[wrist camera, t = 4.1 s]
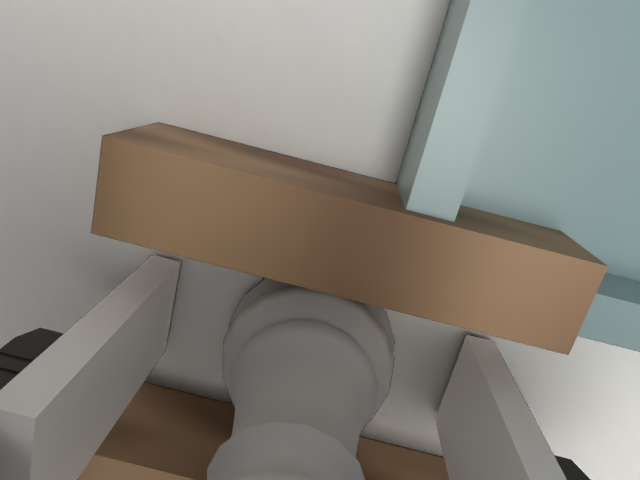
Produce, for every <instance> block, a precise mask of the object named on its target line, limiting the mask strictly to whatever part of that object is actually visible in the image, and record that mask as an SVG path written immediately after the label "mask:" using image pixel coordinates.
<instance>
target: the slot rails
mask: <svg viewBox="0 0 640 480" xmlns="http://www.w3.org/2000/svg"><path fill="white" fill-rule="evenodd" d="M91 233H92V234H96V235H100V236H104V237H108V238H112V239H116V240H120V241H124V242H127V243H131V244H135V245H139V246H143V247H147V248H151V249H155V250H159V251H163V252H167V253H171V254H174V255H178V256H182V257H186V258H190V259H194V260H198V261H202V262H206V263H210V264H214V265H218V266H221V267H225V268H229V269H233V270H237V271H241V272H245V273H249V274H253V275H257V276H261V277H265V278H269V279H272V280H276V281H280V282H284V283H288V284H292V285H296V286H300V287H304V288H308V289H312V290H316V291H319V292H323V293H327V294H331V295H335V296H339V297H343V298H347V299H351V300H355V301H359V302H363V303H366V304H370V305H374V306H378V307H382V308H386V309H390V310H394V311H398V312H402V313H406V314H410V315H413V316H417V317H421V318H425V319H429V320H433V321H437V322H441V323H445V324H449V325H453V326H457V327H460V328H464V329H468V330H472V331H476V332H480V333H484V334H488V335H492V336H496V337H500V338H504V339H507V340H511V341H515V342H519V343H523V344H527V345H531V346H535V347H539V348H543V349H547V350H551V351H554V352H558V353H562V354H566V355H569V352H570V350H571V348H572V346H573V344H574V341H575V339H576V337H577V335H578V333H579V330H580V328H581V326H582V324H583V322H584V319H585V317H586V315H587V313H588V311H589V308H590V306H591V304H592V302H593V299H594V297H595V295H596V293H597V291H598V288H599V286H600V284H601V282H602V280H603V277H604V275H605V273H606V271H607V269H608V266H607V265H606V264H605V263H603V262H602V261H601V260H599V259H598V258H597V257H595V256H594V255H593V254H591V253H590V252H589V251H587V250H586V249H585V248H583V247H582V246H581V245H579V244H578V243H577V242H575V241H574V240H573V239H571V238H570V237H569V236H567V235H566V234H565V233H563V232H562V231H559V230H555V229H551V228H548V227H544V226H540V225H536V224H532V223H528V222H524V221H520V220H517V219H513V218H509V217H505V216H501V215H497V214H493V213H490V212H486V211H482V210H478V209H474V208H470V207H466V206H462V205H460V207H459V210H458V213H457V216H456V219H455V222H452V221H449V220H445V219H441V218H437V217H433V216H429V215H425V214H422V213H418V212H414V211H410V210H406V209H405V206H404V204H403V201H402V198H401V196H400V193H399V191H398V188H397V185H396V184H395V183H391V182H387V181H383V180H379V179H376V178H372V177H368V176H364V175H360V174H356V173H352V172H348V171H345V170H341V169H337V168H333V167H329V166H325V165H321V164H318V163H314V162H310V161H306V160H302V159H298V158H294V157H291V156H287V155H283V154H279V153H275V152H271V151H267V150H264V149H260V148H256V147H252V146H248V145H244V144H240V143H236V142H233V141H229V140H225V139H221V138H217V137H213V136H209V135H206V134H202V133H198V132H194V131H190V130H186V129H182V128H179V127H175V126H171V125H167V124H163V123H159V122H158V123H154V124H150V125H146V126H141V127H137V128H133V129H129V130H124V131H120V132H116V133H112V134H107V135H103V136H102V143H101V151H100V160H99V169H98V177H97V186H96V195H95V203H94V212H93V221H92V229H91ZM234 416H235V407H234V405H232V404H228V403H224V402H220V401H216V400H212V399H208V398H204V397H200V396H196V395H192V394H188V393H184V392H180V391H176V390H172V389H168V388H164V387H160V386H156V385H152V384H148V383H144V382H143V384H142V385H141V387H140V388H139V390H138V391H137V393H136V394H135V396H134V397H133V398H132V400H131V401H130V403H129V404H128V406H127V407H126V409H125V410H124V412H123V413H122V414H121V416H120V417H119V419H118V420H117V422H116V423H115V425H114V426H113V428H112V429H111V430H110V432H109V433H108V435H107V436H106V438H105V439H104V441H103V442H102V444H101V445H100V447H99V448H98V449H97V451H96V452H95V454H94V455H93V457H92V458H91V460H90V461H89V463H88V464H87V465H86V467H85V468H84V470H83V471H82V473H81V474H80V476H79V477H78V479H77V480H207V468H208V466H209V464H210V463H211V461H212V459H213V457H214V456H215V454H216V452H217V450H218V448H219V447H220V445H222V444H223V443H224V442H226V441H227V440H229V439H230V438H231V435H232V430H233V423H234ZM356 459H357V460H358V461H359V463H360V466H361V469H362V472H363V475H364V478H365V480H449V476H448V472H447V468H446V464H445V459H444V458H442V457H438V456H434V455H430V454H426V453H422V452H418V451H414V450H410V449H406V448H403V447H399V446H395V445H391V444H387V443H383V442H379V441H375V440H371V439H367V438H363V437H359V441H358V446H357V451H356Z"/></svg>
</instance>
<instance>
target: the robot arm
mask: <svg viewBox="0 0 640 480" xmlns="http://www.w3.org/2000/svg"><path fill="white" fill-rule="evenodd" d="M180 264H181V262H179V261H175V260H171V259H167V258H164V257H160V256H156V255H152V256H151V257H150V258H148V259H147V260H146V261H145V262H144V263H143V264H142V265H141V266H139V267H138V268H137V269H136V270H135V271H134V272H133V273H132V274H130V275H129V276H128V277H127V278H126V279H125V280H124V281H123V282H121V283H120V284H119V285H118V286H117V287H116V288H115V289H114V290H112V291H111V292H110V293H109V294H108V295H107V296H106V297H105V298H103V299H102V300H101V301H100V302H99V303H98V304H97V305H96V306H94V307H93V308H92V309H91V310H90V311H89V312H88V313H87V314H85V315H84V316H83V317H82V318H81V319H80V320H79V321H78V322H76V323H75V324H74V325H73V326H72V327H71V328H70V329H69V330H67V331H66V332H65V333H64V334H63V333H59V332H55V331H51V330H47V329H43V328H39V329H36V330H33V331H31V332H28V333H25V334H23V335H20V336H17V337H15V338H14V339H12V340H11V341H10V342H9V343H7V344H6V345H5V346H3V347H2V348H1V349H0V480H77V479H78V477H79V476H80V474H81V473H82V471H83V470H84V468H85V467H86V465H87V464H88V463H89V461H90V460H91V458H92V457H93V455H94V454H95V452H96V451H97V449H98V448H99V447H100V445H101V444H102V442H103V441H104V439H105V438H106V436H107V435H108V433H109V432H110V430H111V429H112V428H113V426H114V425H115V423H116V422H117V420H118V419H119V417H120V416H121V414H122V413H123V412H124V410H125V409H126V407H127V406H128V404H129V403H130V401H131V400H132V398H133V397H134V396H135V394H136V393H137V391H138V390H139V388H140V387H141V385H142V384H143V382H144V381H145V380H146V378H147V377H148V375H149V374H150V372H151V371H152V369H153V368H154V366H155V365H156V364H157V362H158V361H159V359H160V358H161V356H162V355H163V353H164V352H165V349H166V344H167V338H168V332H169V326H170V321H171V315H172V309H173V304H174V298H175V292H176V286H177V281H178V275H179V269H180ZM435 421H436V425H437V430H438V434H439V438H440V442H441V447H442V451H443V455H444V459H445V464H446V468H447V472H448V476H449V480H590V479H589V478H588V477H587V476H586V475H585V474H584V473H583V472H582V471H581V470H580V468H579V467H578V466H577V465H576V464H575V463H574V462H573V461H572V460H571V459H567V458H563V457H559V456H555V455H554V454H553V452H552V451H551V449H550V447H549V445H548V443H547V441H546V439H545V437H544V435H543V433H542V432H541V430H540V428H539V426H538V424H537V422H536V420H535V418H534V416H533V414H532V413H531V411H530V409H529V407H528V405H527V403H526V401H525V399H524V397H523V395H522V394H521V392H520V390H519V388H518V386H517V384H516V382H515V380H514V378H513V376H512V375H511V373H510V371H509V369H508V367H507V365H506V363H505V361H504V359H503V357H502V356H501V354H500V352H499V350H498V348H497V346H496V344H495V342H494V341H490V340H486V339H482V338H478V337H474V336H470V335H466V338H465V340H464V343H463V346H462V348H461V351H460V353H459V356H458V359H457V361H456V364H455V367H454V369H453V372H452V375H451V377H450V380H449V383H448V385H447V388H446V391H445V393H444V396H443V399H442V401H441V404H440V407H439V409H438V412H437V414H436V417H435Z"/></svg>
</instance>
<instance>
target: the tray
mask: <svg viewBox="0 0 640 480" xmlns="http://www.w3.org/2000/svg"><path fill="white" fill-rule="evenodd" d="M396 185H397V188H398V191H399V193H400V196H401V198H402V201H403V204H404V206H405V209H406V210H410V211H414V212H418V213H422V214H425V215H429V216H433V217H437V218H441V219H445V220H449V221H452V222H455V219H456V216H457V213H458V210H459V207H460V205H462V206H466V207H470V208H474V209H478V210H482V211H486V212H490V213H493V214H497V215H501V216H505V217H509V218H513V219H517V220H520V221H524V222H528V223H532V224H536V225H540V226H544V227H548V228H551V229H555V230H559V231H562V232H563V233H565V234H566V235H567V236H569V237H570V238H571V239H573V240H574V241H575V242H577V243H578V244H579V245H581V246H582V247H583V248H585V249H586V250H587V251H589V252H590V253H591V254H593V255H594V256H595V257H597V258H598V259H599V260H601V261H602V262H603V263H605V264H606V265H607V266H608V269H607V271H606V273H605V275H604V277H603V280H602V282H601V284H600V286H599V288H598V291H597V293H596V295H595V297H594V299H593V302H592V304H591V306H590V308H589V311H588V313H587V315H586V317H585V319H584V322H583V324H582V326H581V328H580V330H579V333H578V335H577V336H580V337H584V338H587V339H591V340H595V341H599V342H603V343H607V344H611V345H615V346H619V347H623V348H627V349H630V350H634V351H638V352H640V0H451V1H450V4H449V8H448V11H447V14H446V18H445V21H444V25H443V28H442V31H441V35H440V38H439V41H438V45H437V48H436V51H435V55H434V58H433V61H432V65H431V68H430V71H429V75H428V78H427V81H426V85H425V88H424V91H423V95H422V98H421V101H420V105H419V108H418V111H417V115H416V118H415V121H414V125H413V128H412V131H411V135H410V138H409V141H408V145H407V148H406V152H405V155H404V158H403V162H402V165H401V168H400V172H399V175H398V178H397V182H396Z"/></svg>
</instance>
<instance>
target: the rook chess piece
mask: <svg viewBox="0 0 640 480" xmlns="http://www.w3.org/2000/svg"><path fill="white" fill-rule="evenodd" d="M394 344H395V340H394V337H393V334H392V330H391V327H390V324H389V320H388V317H387V314H386V311H385V310H384V309H383V308H382V307H378V306H374V305H370V304H366V303H363V302H359V301H355V300H351V299H347V298H343V297H339V296H335V295H331V294H327V293H323V292H319V291H316V290H312V289H308V288H304V287H300V286H296V285H292V284H288V283H284V282H280V281H276V280H272V279H269V278H266V279H265V280H263V281H262V282H261V283H259V284H258V285H257V286H256V287H254V288H253V289H252V290H250V291H249V292H248V293H247V294H245V295H244V296H243V297H242V299H241V301H240V303H239V305H238V307H237V309H236V311H235V313H234V314H233V316H232V318H231V320H230V322H229V330H228V332H227V334H226V336H225V338H224V342H223V379H224V382H225V384H226V386H227V389H228V391H229V395H230V397H231V400H232V402H233V405H234V407H235V416H234V423H233V430H232V435H231V438H230V439H229V440H227V441H226V442H224V443H223V444H222V445H220V447H219V448H218V450H217V452H216V454H215V456H214V457H213V459H212V461H211V463H210V464H209V466H208V468H207V480H365V478H364V475H363V472H362V469H361V466H360V463H359V461H358V460H357V459H356V451H357V446H358V441H359V436H360V433H361V431H362V430H363V428H364V427H365V425H366V424H367V423H368V422H370V421H371V420H372V418H373V417H374V415H375V414H376V412H377V411H378V409H379V408H380V406H381V405H382V403H383V402H384V400H385V399H386V397H387V395H388V393H389V390H390V386H391V379H392V373H393V366H394V355H393V350H394Z"/></svg>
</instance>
